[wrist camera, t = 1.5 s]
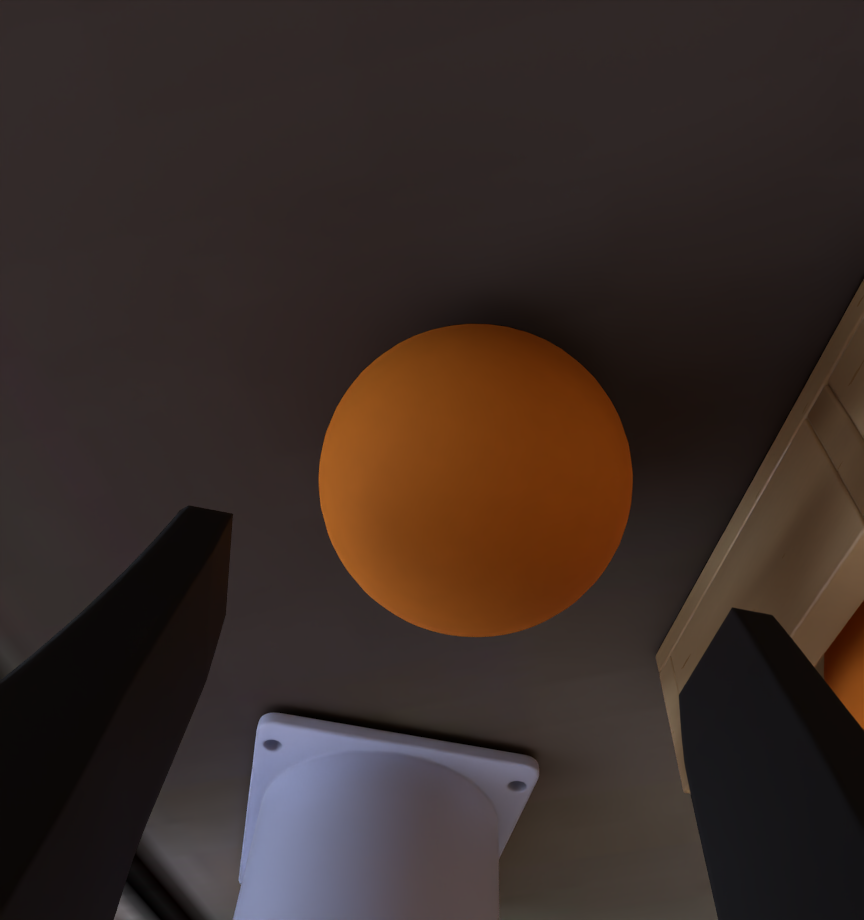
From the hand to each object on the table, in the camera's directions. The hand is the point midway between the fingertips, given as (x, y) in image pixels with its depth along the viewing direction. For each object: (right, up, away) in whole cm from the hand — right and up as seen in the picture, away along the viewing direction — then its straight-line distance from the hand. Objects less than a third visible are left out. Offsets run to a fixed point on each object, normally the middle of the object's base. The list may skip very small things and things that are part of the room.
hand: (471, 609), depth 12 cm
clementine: (0, +2, +3) cm, 3 cm away
